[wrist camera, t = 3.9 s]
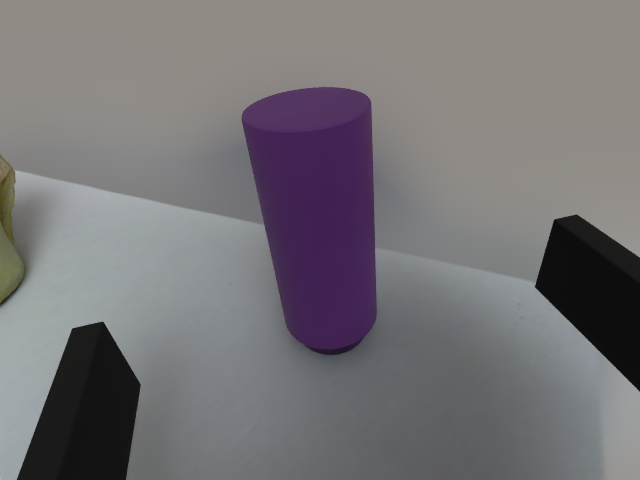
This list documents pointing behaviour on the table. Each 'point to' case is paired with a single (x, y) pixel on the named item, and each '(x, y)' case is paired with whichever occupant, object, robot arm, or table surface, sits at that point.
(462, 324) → the table surface
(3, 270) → the mug
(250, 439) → the table surface
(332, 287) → the cylinder
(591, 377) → the table surface
